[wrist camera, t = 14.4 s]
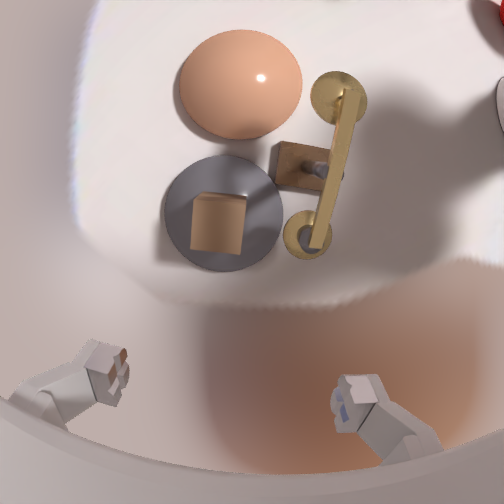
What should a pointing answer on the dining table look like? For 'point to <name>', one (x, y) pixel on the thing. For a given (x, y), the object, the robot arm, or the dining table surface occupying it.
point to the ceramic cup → (502, 11)
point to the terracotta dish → (240, 84)
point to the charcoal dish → (230, 182)
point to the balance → (320, 162)
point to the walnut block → (218, 222)
